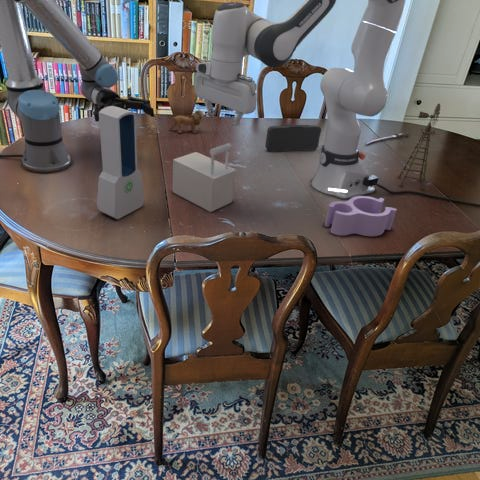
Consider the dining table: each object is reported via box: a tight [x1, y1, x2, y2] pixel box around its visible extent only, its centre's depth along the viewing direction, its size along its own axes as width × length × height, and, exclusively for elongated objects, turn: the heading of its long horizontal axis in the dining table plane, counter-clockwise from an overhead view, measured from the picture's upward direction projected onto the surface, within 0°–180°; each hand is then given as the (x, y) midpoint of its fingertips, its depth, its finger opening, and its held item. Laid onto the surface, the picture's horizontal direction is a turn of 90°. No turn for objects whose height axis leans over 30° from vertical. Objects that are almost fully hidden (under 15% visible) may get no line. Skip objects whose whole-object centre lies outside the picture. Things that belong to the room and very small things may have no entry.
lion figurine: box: [168, 109, 204, 134], centre depth 195 cm, size 15×5×9 cm, turn 110°
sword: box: [366, 133, 410, 146], centre depth 213 cm, size 31×3×1 cm, turn 126°
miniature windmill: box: [398, 102, 441, 191], centre depth 166 cm, size 9×8×30 cm
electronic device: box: [96, 106, 145, 220], centre depth 130 cm, size 12×8×30 cm, turn 148°
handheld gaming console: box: [264, 124, 322, 152], centre depth 189 cm, size 23×3×10 cm, turn 108°
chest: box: [172, 162, 236, 213], centre depth 147 cm, size 17×10×10 cm, turn 50°
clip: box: [324, 195, 398, 237], centre depth 141 cm, size 20×12×7 cm, turn 109°
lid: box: [172, 142, 237, 183], centre depth 142 cm, size 18×10×9 cm, turn 50°
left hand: (134, 117), depth 151 cm, fingers open, 13 cm apart
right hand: (222, 120), depth 132 cm, fingers open, 8 cm apart
